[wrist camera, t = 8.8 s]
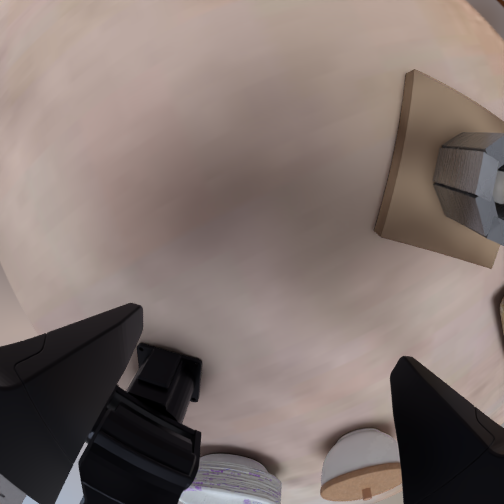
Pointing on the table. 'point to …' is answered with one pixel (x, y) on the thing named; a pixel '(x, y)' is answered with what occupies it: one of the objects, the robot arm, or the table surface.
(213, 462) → the paper bowls
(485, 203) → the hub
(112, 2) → the table surface
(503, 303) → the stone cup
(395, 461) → the lidded jar
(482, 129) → the block
